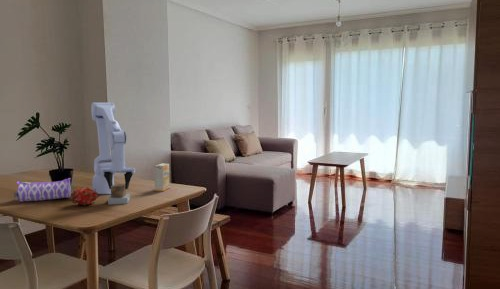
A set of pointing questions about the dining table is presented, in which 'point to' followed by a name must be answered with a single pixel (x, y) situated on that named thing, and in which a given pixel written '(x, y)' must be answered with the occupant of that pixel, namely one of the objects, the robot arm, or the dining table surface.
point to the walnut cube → (118, 191)
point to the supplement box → (161, 177)
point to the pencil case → (43, 190)
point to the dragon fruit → (84, 196)
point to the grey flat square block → (119, 200)
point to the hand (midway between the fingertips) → (118, 188)
